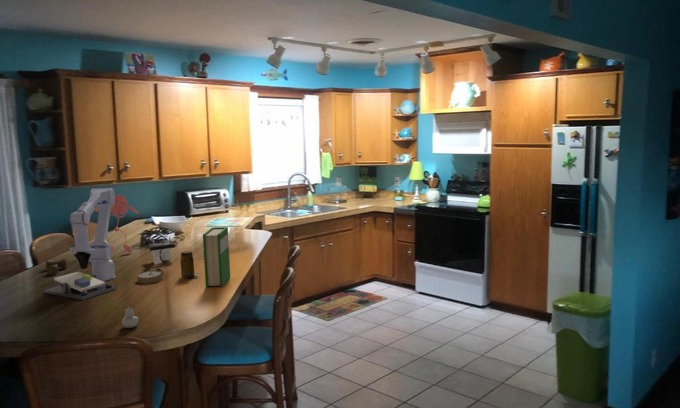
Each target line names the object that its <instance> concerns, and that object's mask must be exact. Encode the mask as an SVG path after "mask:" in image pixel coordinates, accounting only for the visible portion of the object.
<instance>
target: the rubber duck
mask: <svg viewBox="0 0 680 408" xmlns="http://www.w3.org/2000/svg"><path fill="white" fill-rule="evenodd" d="M138 323H139V317H138V316H136V315H135V311H134V309H133V308H132V307H130V306H129V305H128V306H127V307H126V308H125V310H124V317H123V318H122V319H121V324H122V326H123V327H124V328H126V329H131V328H134V327H136V326H137V324H138Z"/></svg>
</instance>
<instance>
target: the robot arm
mask: <svg viewBox="0 0 680 408" xmlns="http://www.w3.org/2000/svg"><path fill="white" fill-rule="evenodd" d="M115 197H116V193H115V190H114V189H113V188H112V187H109V188H108V187H107V188H91V190H90V192H89V199H88V200H87V201H84V202H83V203H82V204H81V205H80V206H79V207H78V208H77V210H76V211H74V212H72V213H70V216H69V223H70V224H71V229H72V230H73V239H74V246H71V247H69V252H70V253H73V252H74V257H75V258H76V260H77V262H78V264H79V266H80V269H81V270H86V269H88V265H89V263H91V269H92V270H91V271H92V275H96V279H98V280H101V281H103V282H106V281H108V280H109V281H110V280H112V279H116V278H117V276H116V270H115V267H116V266H115V263H114V261H113V260H112V259H111V258H112V254H113V253H112V246H113V245H112V244H110V242H108V238H107V234H108V232H109V225H110V217H111V212H110V211H111V207H113V206H114V201H115ZM95 207H97V208H99V211H98V217H97V225H96V231H95V237H94V238H95V239H94V240H93V241H92V242H91V243H90V239H89V236H90V235H89V226H88V224H89V223H90V219H91V216H92V214H93V213H94V211H95ZM111 245H112V246H111Z"/></svg>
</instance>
